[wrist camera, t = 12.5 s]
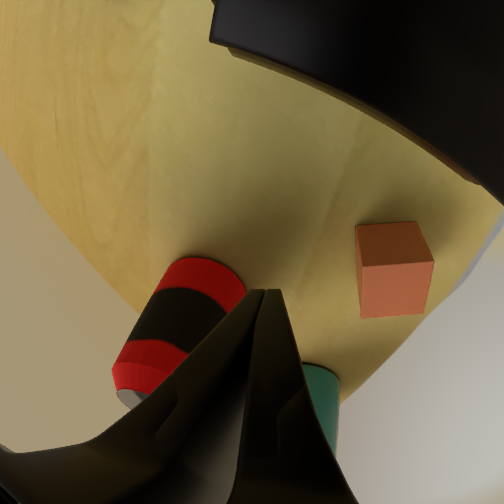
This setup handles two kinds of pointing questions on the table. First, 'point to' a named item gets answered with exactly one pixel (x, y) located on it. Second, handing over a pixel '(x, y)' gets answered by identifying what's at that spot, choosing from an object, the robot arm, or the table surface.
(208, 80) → the table surface
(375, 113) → the robot arm
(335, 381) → the cup
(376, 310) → the block
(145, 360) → the soda can
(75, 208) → the table surface
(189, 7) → the table surface
